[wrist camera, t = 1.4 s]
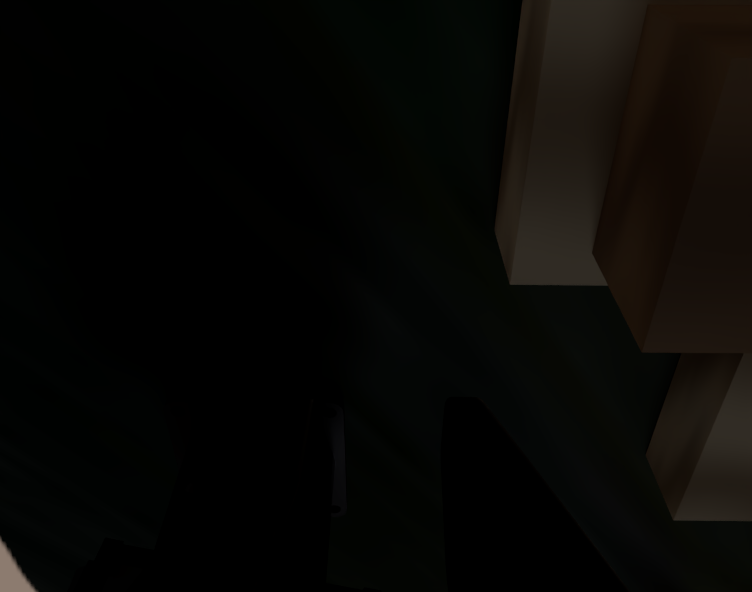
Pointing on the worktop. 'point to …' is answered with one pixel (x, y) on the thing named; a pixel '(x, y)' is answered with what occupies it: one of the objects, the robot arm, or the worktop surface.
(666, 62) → the walnut block
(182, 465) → the robot arm
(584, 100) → the trap deck
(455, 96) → the worktop surface
